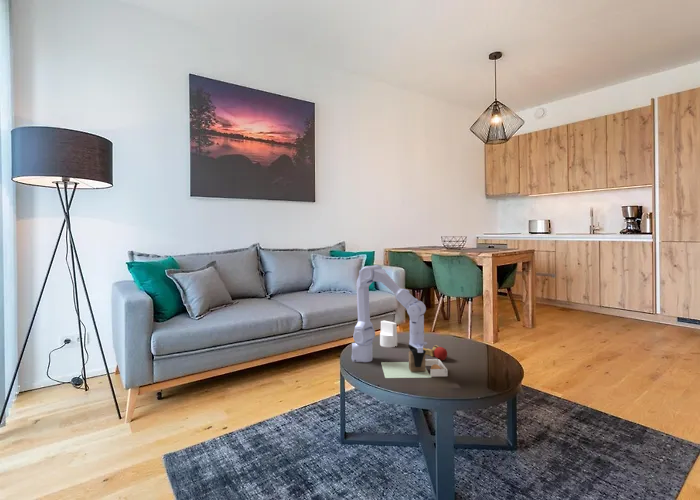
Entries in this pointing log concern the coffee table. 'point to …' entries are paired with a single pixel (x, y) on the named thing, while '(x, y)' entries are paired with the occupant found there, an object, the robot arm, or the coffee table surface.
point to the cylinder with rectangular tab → (388, 334)
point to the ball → (435, 366)
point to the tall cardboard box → (412, 364)
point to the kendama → (437, 352)
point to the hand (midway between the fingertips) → (416, 364)
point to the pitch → (404, 372)
